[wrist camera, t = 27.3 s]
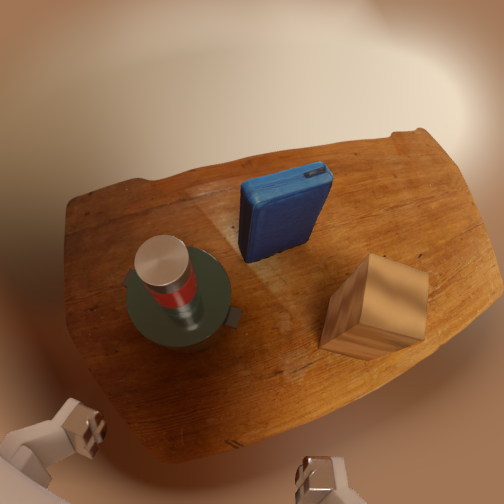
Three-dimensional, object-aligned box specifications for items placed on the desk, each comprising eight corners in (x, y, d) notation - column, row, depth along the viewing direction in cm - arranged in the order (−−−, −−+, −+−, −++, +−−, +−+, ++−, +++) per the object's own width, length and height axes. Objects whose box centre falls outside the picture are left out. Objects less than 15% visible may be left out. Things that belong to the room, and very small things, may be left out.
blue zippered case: (299, 224, 59) (324, 153, 42) (311, 245, 57) (343, 177, 39) (235, 247, 56) (237, 175, 38) (246, 270, 54) (253, 204, 36)
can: (189, 320, 39) (174, 294, 29) (149, 304, 40) (124, 274, 30) (205, 280, 42) (198, 243, 32) (166, 267, 43) (149, 228, 33)
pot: (223, 373, 44) (221, 368, 36) (121, 331, 46) (100, 316, 38) (253, 289, 52) (257, 267, 44) (156, 256, 54) (144, 230, 45)
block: (367, 361, 46) (424, 340, 31) (318, 348, 47) (359, 322, 31) (376, 311, 51) (428, 273, 35) (330, 297, 52) (369, 252, 36)
